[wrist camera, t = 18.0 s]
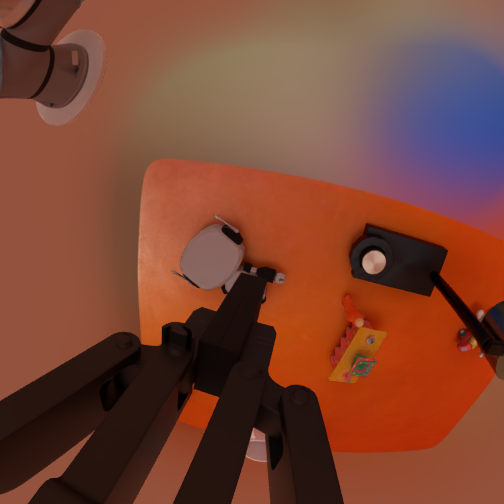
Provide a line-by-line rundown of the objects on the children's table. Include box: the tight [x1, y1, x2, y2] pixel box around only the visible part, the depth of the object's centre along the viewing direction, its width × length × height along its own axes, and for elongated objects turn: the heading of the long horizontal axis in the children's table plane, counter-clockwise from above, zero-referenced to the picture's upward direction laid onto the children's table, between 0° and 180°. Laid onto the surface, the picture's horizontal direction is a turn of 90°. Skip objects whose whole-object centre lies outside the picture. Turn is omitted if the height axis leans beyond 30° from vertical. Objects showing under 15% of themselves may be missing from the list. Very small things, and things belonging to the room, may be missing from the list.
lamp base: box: [349, 223, 448, 297], centre depth 40 cm, size 16×8×4 cm, turn 79°
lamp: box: [429, 271, 504, 380], centre depth 28 cm, size 10×7×19 cm
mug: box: [246, 428, 267, 462], centre depth 52 cm, size 11×9×10 cm
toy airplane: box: [457, 309, 486, 357], centre depth 39 cm, size 9×9×6 cm
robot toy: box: [171, 215, 286, 304], centre depth 46 cm, size 12×4×15 cm
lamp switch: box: [361, 247, 386, 274], centre depth 38 cm, size 3×3×2 cm
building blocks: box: [328, 295, 388, 383], centre depth 43 cm, size 12×35×14 cm, turn 162°
